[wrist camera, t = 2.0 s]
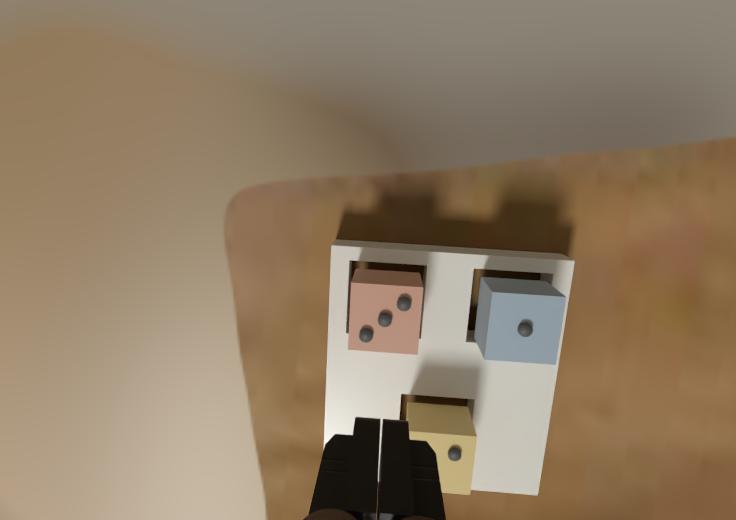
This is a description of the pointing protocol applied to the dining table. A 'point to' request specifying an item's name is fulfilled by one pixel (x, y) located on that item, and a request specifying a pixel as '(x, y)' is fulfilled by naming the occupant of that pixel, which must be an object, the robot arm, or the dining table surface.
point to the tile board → (447, 359)
